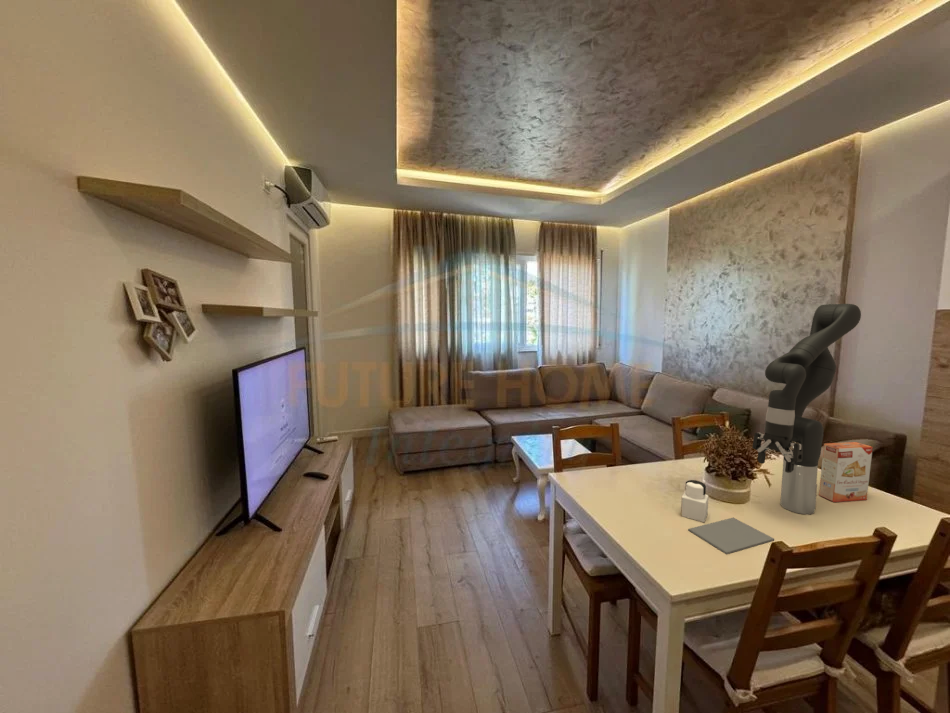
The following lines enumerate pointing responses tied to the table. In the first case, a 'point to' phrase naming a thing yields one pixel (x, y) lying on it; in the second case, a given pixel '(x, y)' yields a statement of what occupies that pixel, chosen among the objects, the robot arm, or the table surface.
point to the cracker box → (845, 471)
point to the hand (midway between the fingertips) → (774, 467)
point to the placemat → (730, 535)
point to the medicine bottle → (695, 501)
